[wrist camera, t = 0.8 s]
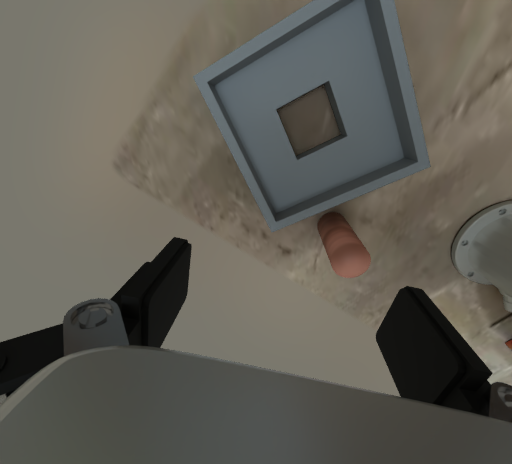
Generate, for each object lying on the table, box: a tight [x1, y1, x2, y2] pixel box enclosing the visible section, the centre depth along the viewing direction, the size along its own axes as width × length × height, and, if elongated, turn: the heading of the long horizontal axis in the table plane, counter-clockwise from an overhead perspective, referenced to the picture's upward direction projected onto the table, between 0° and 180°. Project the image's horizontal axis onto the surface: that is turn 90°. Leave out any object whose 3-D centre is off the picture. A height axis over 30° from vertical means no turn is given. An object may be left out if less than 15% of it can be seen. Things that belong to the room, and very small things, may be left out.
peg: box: [318, 212, 371, 278], centre depth 31 cm, size 4×4×10 cm
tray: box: [193, 0, 431, 232], centre depth 28 cm, size 18×18×6 cm
